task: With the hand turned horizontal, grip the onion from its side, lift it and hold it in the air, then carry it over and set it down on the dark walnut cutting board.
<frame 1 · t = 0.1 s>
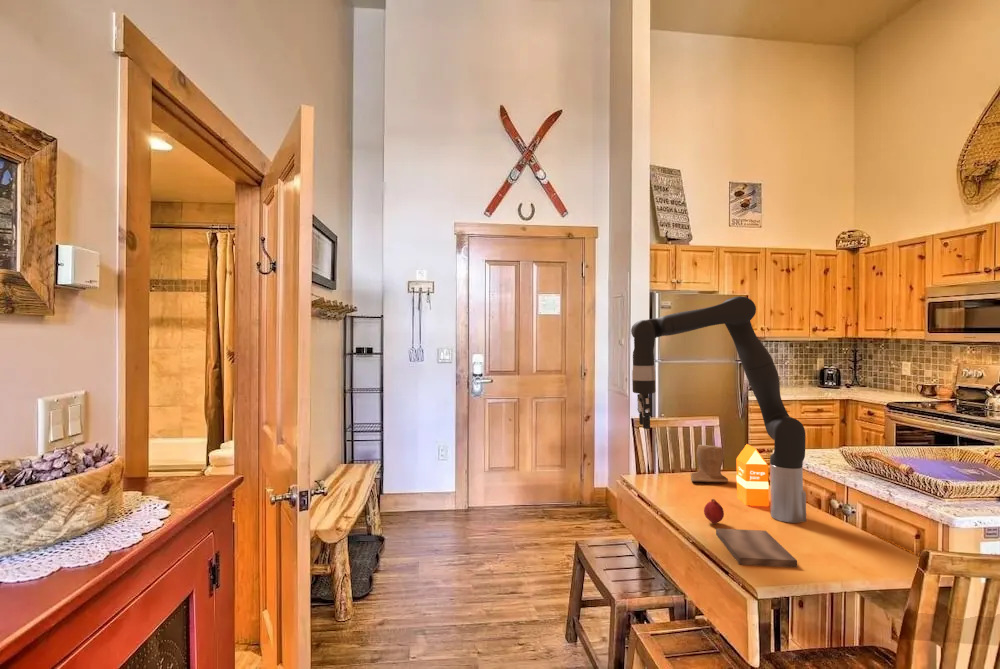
hand: (644, 426, 166), 29 cm above the table, tool pointing down, fingers open, 8 cm apart
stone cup: (707, 481, 203), on the table
orange juice: (752, 502, 176), on the table
cutting board: (753, 549, 136), on the table
onion: (714, 524, 155), on the table
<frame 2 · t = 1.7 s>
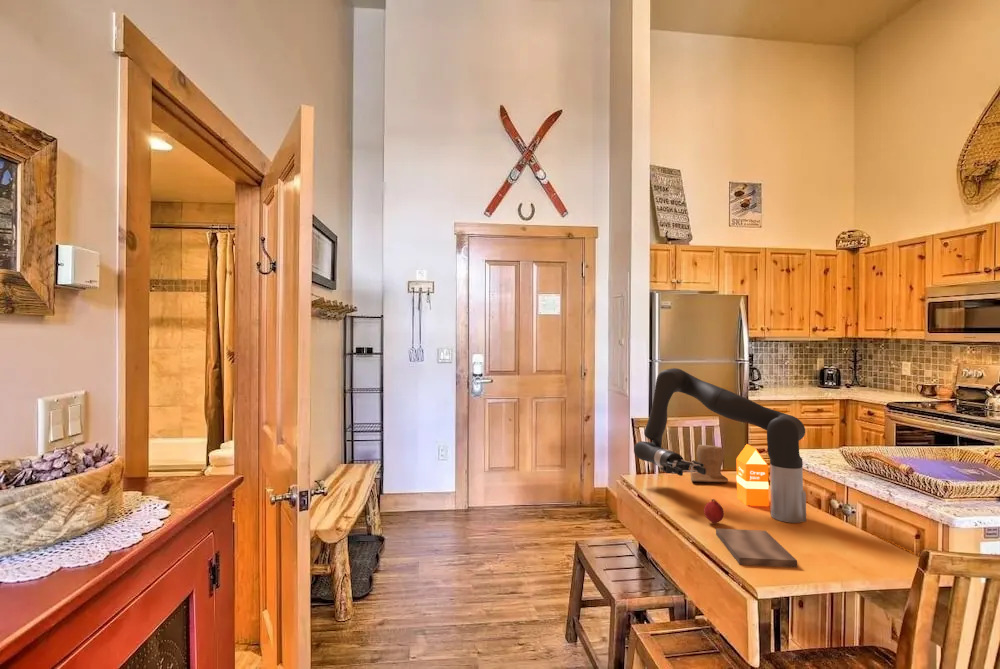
hand: (693, 472, 167), 13 cm above the table, tool horizontal, fingers open, 8 cm apart
nothing on the table moved.
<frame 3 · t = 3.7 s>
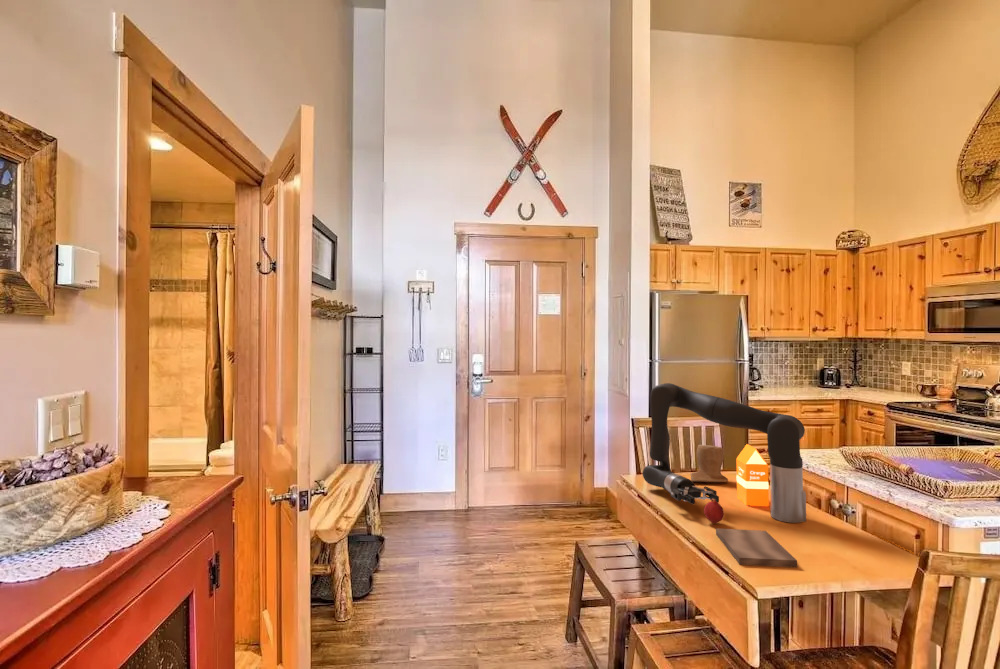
hand: (705, 500, 160), 6 cm above the table, tool horizontal, fingers open, 8 cm apart
nothing on the table moved.
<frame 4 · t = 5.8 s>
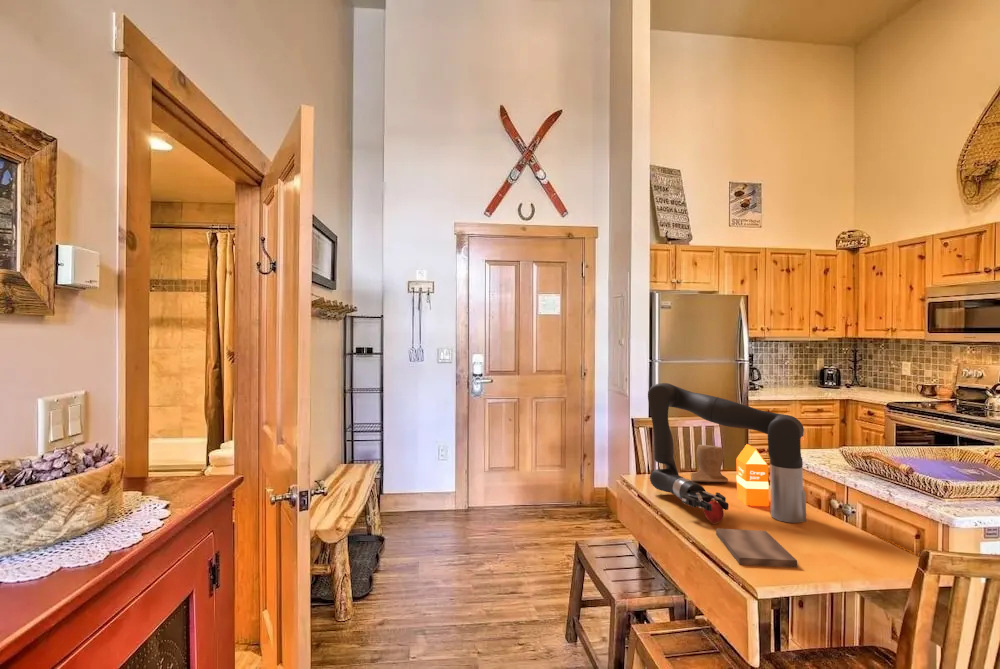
hand: (718, 507, 153), 6 cm above the table, tool horizontal, fingers closed on onion, 5 cm apart
onion: (714, 524, 155), on the table, touching gripper
everything else where it was.
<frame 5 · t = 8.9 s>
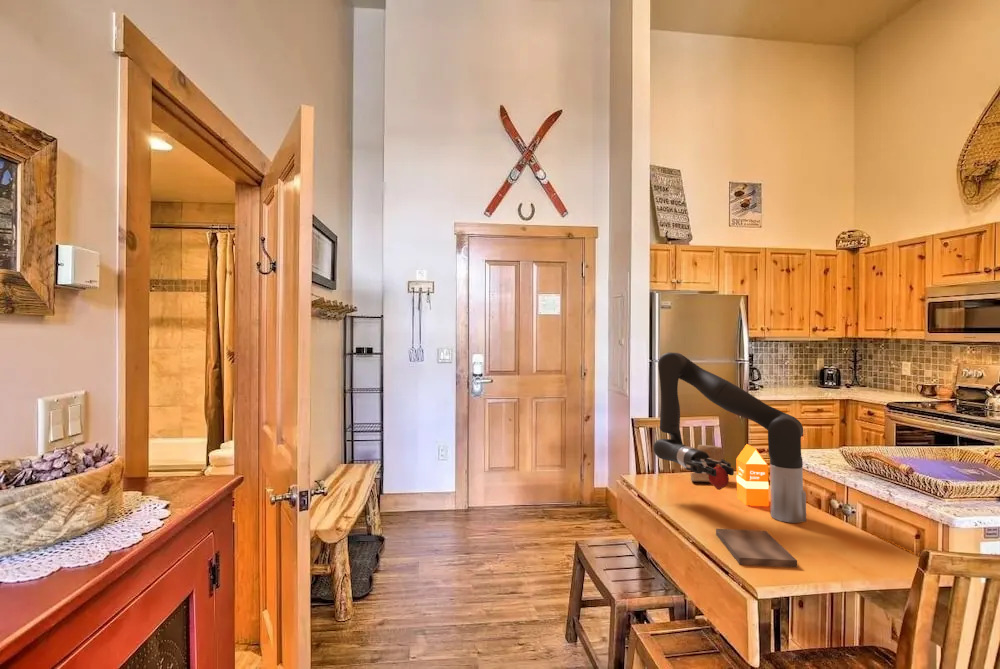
hand: (723, 472, 150), 18 cm above the table, tool horizontal, fingers closed on onion, 5 cm apart
onion: (718, 490, 153), point 12 cm above the table, touching gripper
everything else where it was.
when the fingers open (9 cm above the table, at t = 12.0 s): onion drops 1 cm, resting on cutting board.
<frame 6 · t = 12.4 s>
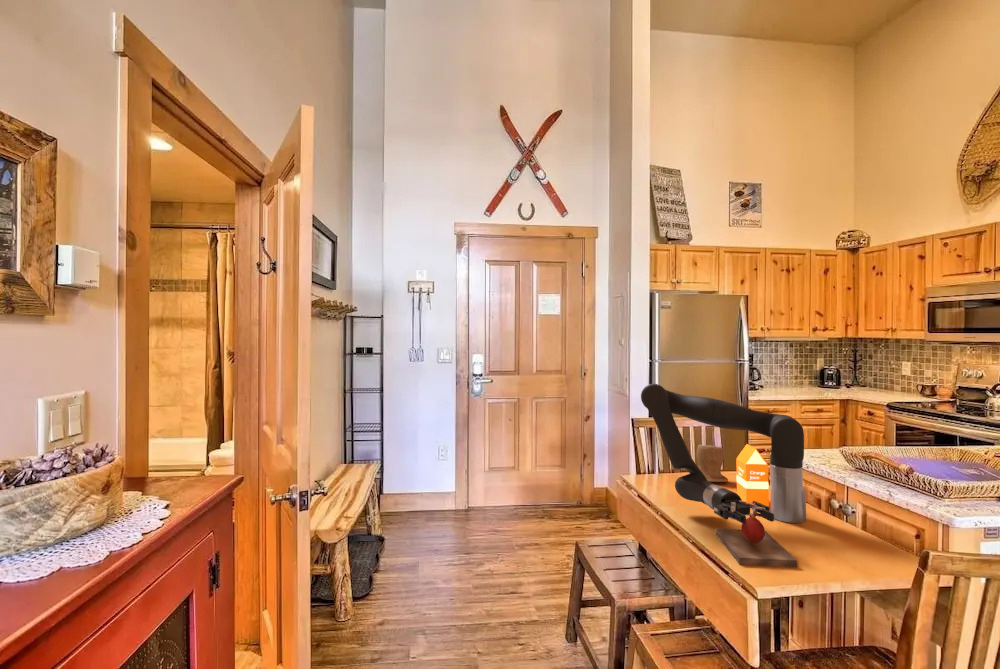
hand: (759, 519, 133), 10 cm above the table, tool horizontal, fingers open, 8 cm apart
onion: (753, 544, 135), point 2 cm above the table, touching cutting board
everything else where it was.
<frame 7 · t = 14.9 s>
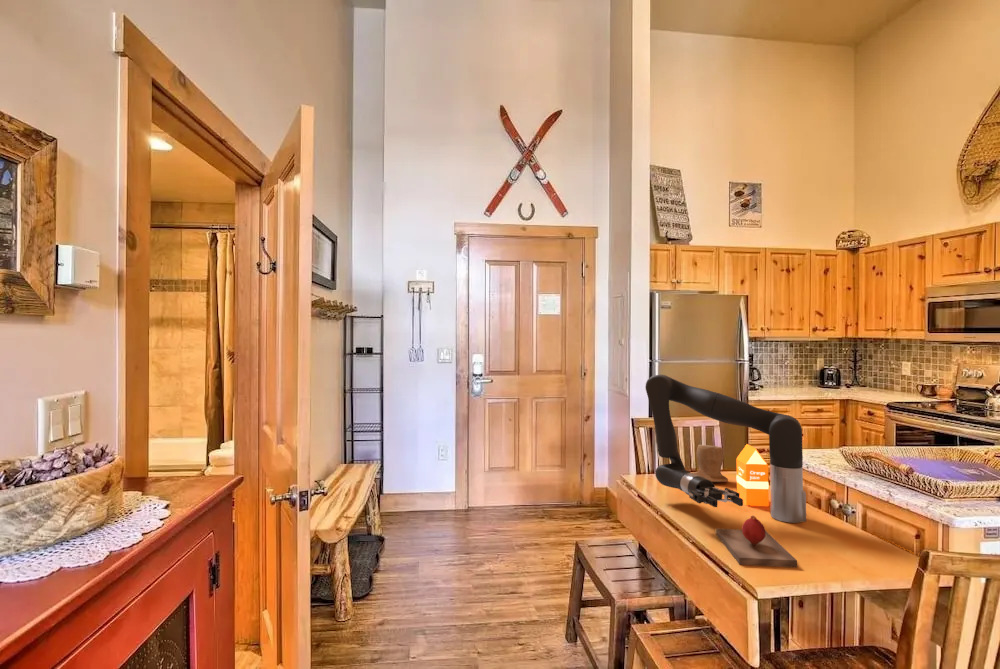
hand: (729, 503, 146), 10 cm above the table, tool horizontal, fingers open, 8 cm apart
nothing on the table moved.
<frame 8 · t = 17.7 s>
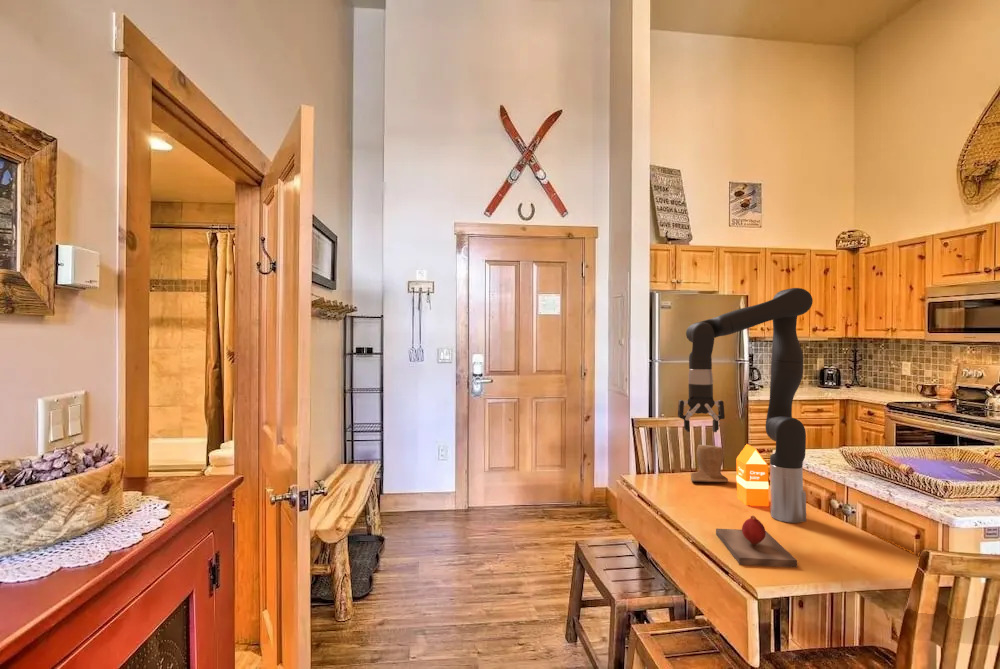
hand: (701, 431, 162), 28 cm above the table, tool pointing down, fingers open, 8 cm apart
nothing on the table moved.
at the end: onion inside the target area on the cutting board (0.9 cm from its centre), point 1.6 cm above the cutting board's base; the gripper is holding nothing; onion moved 20.5 cm from its start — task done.
